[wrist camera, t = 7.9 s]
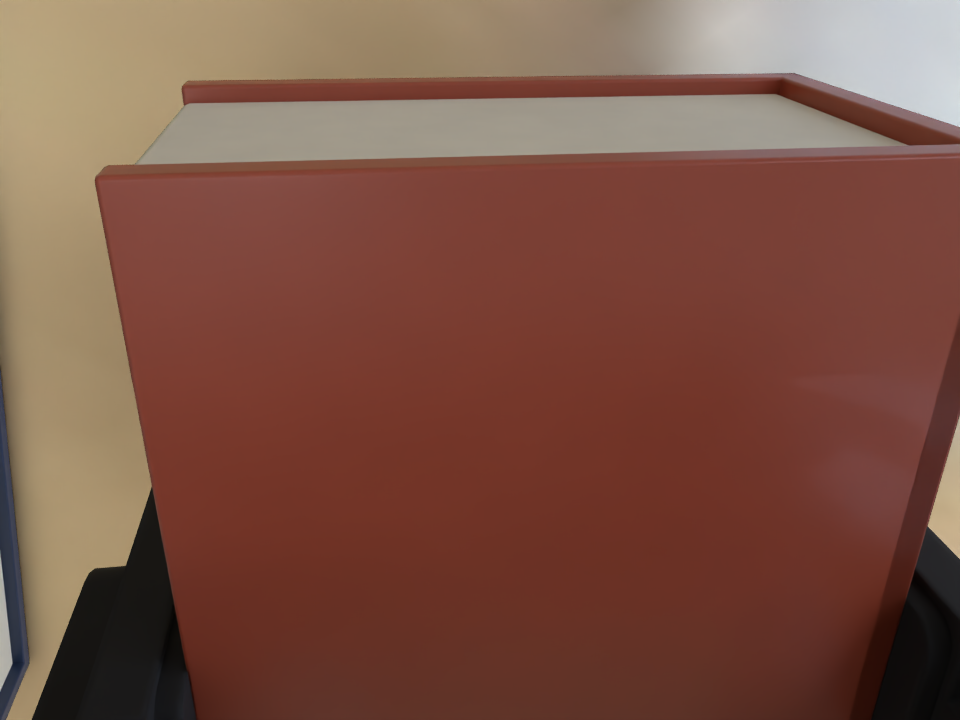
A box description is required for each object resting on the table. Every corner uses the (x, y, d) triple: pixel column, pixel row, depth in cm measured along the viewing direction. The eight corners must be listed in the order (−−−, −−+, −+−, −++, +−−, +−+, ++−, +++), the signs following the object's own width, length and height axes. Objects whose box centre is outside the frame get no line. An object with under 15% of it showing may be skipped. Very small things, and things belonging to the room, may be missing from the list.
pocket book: (796, 72, 9) (1039, 151, 6) (679, 785, 14) (780, 1038, 11) (184, 80, 8) (91, 175, 5) (286, 835, 13) (270, 1123, 10)
